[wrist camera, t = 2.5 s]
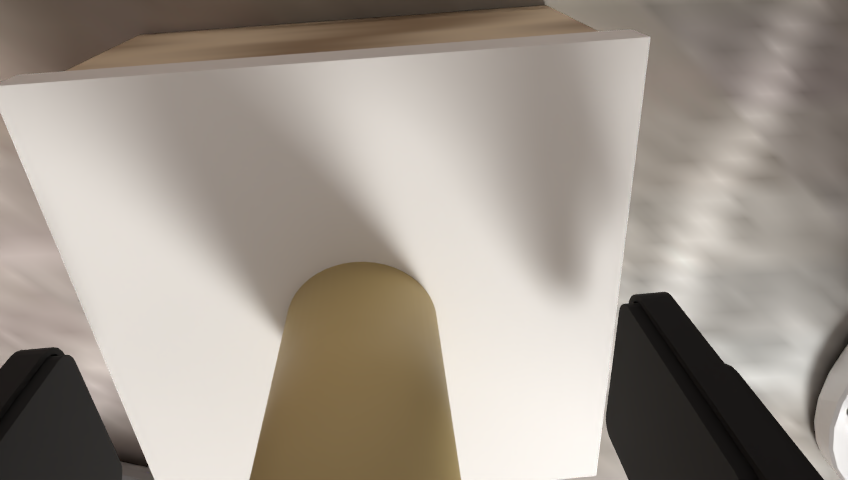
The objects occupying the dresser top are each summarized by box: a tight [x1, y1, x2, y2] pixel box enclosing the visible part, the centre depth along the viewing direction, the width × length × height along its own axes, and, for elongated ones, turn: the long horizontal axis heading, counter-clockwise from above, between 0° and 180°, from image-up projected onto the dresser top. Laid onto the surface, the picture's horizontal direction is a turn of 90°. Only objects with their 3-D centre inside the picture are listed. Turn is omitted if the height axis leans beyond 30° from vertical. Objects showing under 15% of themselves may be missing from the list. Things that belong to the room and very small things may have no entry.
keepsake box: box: [66, 5, 596, 71], centre depth 15 cm, size 10×10×5 cm
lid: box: [0, 29, 650, 480], centre depth 10 cm, size 10×10×6 cm
